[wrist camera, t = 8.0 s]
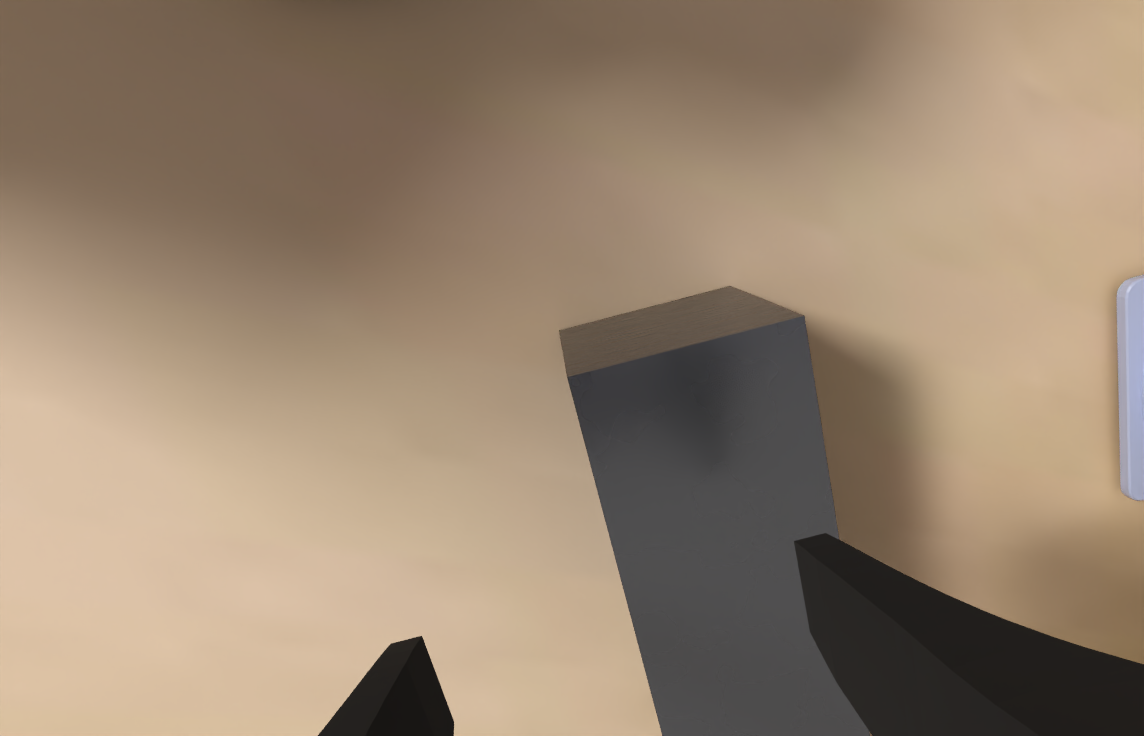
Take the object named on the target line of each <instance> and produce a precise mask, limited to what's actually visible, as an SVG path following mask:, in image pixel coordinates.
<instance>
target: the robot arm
mask: <svg viewBox="0 0 1144 736" xmlns="http://www.w3.org/2000/svg"><path fill="white" fill-rule="evenodd" d="M1117 340H1118V388H1119V436H1120V483H1121V491H1122V493H1123V494H1124V495H1125V496H1127V497H1129V498H1131V499H1134V500H1137V501H1140V500H1144V275H1140V276H1136V277H1132V278H1130V279H1128V280H1126V281H1124V282H1123V283H1122V284H1121V285H1120V287H1119V289H1118V291H1117ZM794 545H795V551H796V556H797V562H798V568H799V573H800V579H801V584H802V590H803V596H804V601H805V607H806V613H807V618H808V624H809V629H810V633H811V635H812V637H813V639H814V641H815V643H816V645H817V647H818V649H819V651H820V652H821V654H822V656H823V658H824V660H825V662H826V664H827V666H828V668H829V669H830V671H831V673H832V675H833V677H834V679H835V681H836V682H837V684H838V685H839V687H840V688H841V690H842V692H843V693H844V695H845V696H846V697H847V699H848V700H849V702H850V703H851V705H852V706H853V708H854V709H855V711H856V712H857V714H858V715H859V717H860V718H861V720H862V721H863V723H864V724H865V725H866V727H867V728H868V730H869V731H870V733H871V734H872V736H1144V664H1140V663H1136V662H1133V661H1130V660H1126V659H1123V658H1119V657H1116V656H1113V655H1109V654H1106V653H1102V652H1099V651H1095V650H1092V649H1089V648H1085V647H1082V646H1079V645H1076V644H1073V643H1070V642H1067V641H1064V640H1060V639H1057V638H1054V637H1052V636H1049V635H1046V634H1043V633H1041V632H1038V631H1035V630H1032V629H1030V628H1027V627H1024V626H1021V625H1019V624H1016V623H1013V622H1010V621H1008V620H1005V619H1003V618H1000V617H998V616H995V615H993V614H990V613H988V612H985V611H983V610H980V609H978V608H976V607H974V606H971V605H969V604H967V603H964V602H962V601H960V600H958V599H955V598H953V597H951V596H948V595H946V594H944V593H942V592H940V591H938V590H936V589H933V588H931V587H929V586H927V585H925V584H923V583H921V582H919V581H917V580H915V579H913V578H911V577H909V576H907V575H905V574H903V573H901V572H899V571H897V570H895V569H893V568H891V567H889V566H887V565H885V564H883V563H882V562H880V561H878V560H876V559H874V558H872V557H870V556H868V555H867V554H865V553H863V552H861V551H859V550H857V549H855V548H854V547H852V546H850V545H848V544H846V543H844V542H842V541H840V540H839V539H837V538H835V537H833V536H831V535H829V534H827V533H823V534H819V535H815V536H811V537H808V538H804V539H800V540H796V541H794ZM318 736H454V721H453V718H452V715H451V713H450V710H449V707H448V705H447V702H446V699H445V697H444V694H443V691H442V689H441V686H440V683H439V680H438V678H437V675H436V672H435V670H434V667H433V664H432V662H431V659H430V656H429V654H428V651H427V648H426V646H425V643H424V640H423V638H422V636H420V637H416V638H412V639H408V640H404V641H400V642H396V643H392V644H390V645H389V647H388V648H387V649H386V650H385V651H384V652H383V654H382V655H381V656H380V657H379V658H378V660H377V661H376V662H375V664H374V665H373V666H372V667H371V669H370V670H369V671H368V672H367V674H366V675H365V676H364V678H363V679H362V680H361V682H360V683H359V684H358V685H357V687H356V688H355V689H354V691H353V692H352V693H351V694H350V696H349V697H348V698H347V700H346V701H345V702H344V703H343V705H342V706H341V707H340V708H339V710H338V711H337V712H336V713H335V715H334V716H333V717H332V719H331V720H330V721H329V722H328V724H327V725H326V726H325V727H324V729H323V730H322V731H321V732H320V734H319V735H318Z"/></svg>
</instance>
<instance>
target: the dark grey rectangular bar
mask: <svg viewBox="0 0 1144 736" xmlns="http://www.w3.org/2000/svg"><path fill="white" fill-rule="evenodd" d="M559 333H560V339H561V344H562V350H563V356H564V361H565V367H566V373H567V378H568V382H569V385H570V389H571V393H572V397H573V400H574V404H575V408H576V412H577V416H578V419H579V423H580V427H581V431H582V434H583V438H584V442H585V446H586V449H587V453H588V457H589V461H590V464H591V468H592V472H593V476H594V480H595V483H596V487H597V491H598V495H599V498H600V502H601V506H602V510H603V513H604V517H605V521H606V525H607V529H608V532H609V536H610V540H611V544H612V547H613V551H614V555H615V559H616V562H617V566H618V570H619V574H620V577H621V581H622V585H623V589H624V593H625V596H626V600H627V604H628V608H629V611H630V615H631V619H632V623H633V626H634V630H635V634H636V638H637V642H638V645H639V649H640V653H641V657H642V660H643V664H644V668H645V672H646V675H647V679H648V683H649V687H650V690H651V694H652V698H653V702H654V706H655V709H656V713H657V717H658V721H659V724H660V728H661V732H662V736H870V734H869V730H868V728H867V727H866V725H865V724H864V723H863V721H862V720H861V718H860V717H859V715H858V714H857V712H856V711H855V709H854V708H853V706H852V705H851V703H850V702H849V700H848V699H847V697H846V696H845V695H844V693H843V692H842V690H841V688H840V687H839V685H838V684H837V682H836V681H835V679H834V677H833V675H832V673H831V671H830V669H829V668H828V666H827V664H826V662H825V660H824V658H823V656H822V654H821V652H820V651H819V649H818V647H817V645H816V643H815V641H814V639H813V637H812V635H811V633H810V629H809V624H808V618H807V613H806V607H805V601H804V596H803V590H802V584H801V579H800V573H799V568H798V562H797V556H796V551H795V545H794V541H796V540H800V539H804V538H808V537H811V536H815V535H819V534H823V533H827V534H829V535H831V536H833V537H835V538H837V539H839V535H838V529H837V522H836V516H835V509H834V503H833V497H832V490H831V484H830V477H829V471H828V465H827V458H826V452H825V445H824V439H823V432H822V426H821V420H820V413H819V407H818V400H817V394H816V388H815V381H814V375H813V368H812V362H811V356H810V349H809V343H808V336H807V330H806V324H805V317H804V315H801V314H799V313H796V312H794V311H791V310H789V309H786V308H784V307H781V306H779V305H776V304H774V303H771V302H769V301H766V300H764V299H761V298H759V297H756V296H754V295H751V294H749V293H746V292H744V291H741V290H739V289H736V288H734V287H731V286H729V287H725V288H721V289H717V290H713V291H709V292H706V293H702V294H698V295H694V296H690V297H686V298H682V299H679V300H675V301H671V302H667V303H663V304H659V305H656V306H652V307H648V308H644V309H640V310H636V311H632V312H629V313H625V314H621V315H617V316H613V317H609V318H606V319H602V320H598V321H594V322H590V323H586V324H583V325H579V326H575V327H571V328H567V329H563V330H559Z"/></svg>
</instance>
